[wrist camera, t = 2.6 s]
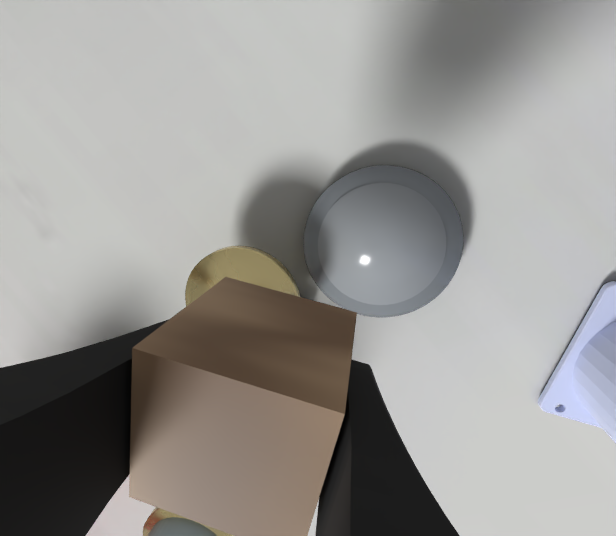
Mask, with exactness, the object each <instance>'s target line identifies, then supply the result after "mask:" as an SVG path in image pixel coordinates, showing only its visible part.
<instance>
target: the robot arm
mask: <svg viewBox="0 0 616 536" xmlns="http://www.w3.org/2000/svg"><path fill="white" fill-rule="evenodd" d="M169 320H170V319H169ZM167 321H168V320H166V321H163V322H160V323H157V324H154V325H152V326H149V327H146V328H143V329H140V330H137V331H134V332H131V333H128V334H125V335H122V336H119V337H116V338H113V339H109V340H106V341H103V342H100V343H96V344H93V345H90V346H86V347H83V348H80V349H76V350H73V351H70V352H66V353H62V354H58V355H54V356H51V357H47V358H43V359H38V360H34V361H30V362H25V363H21V364H17V365H12V366H7V367H3V368H0V536H85V535H86V534H87V533H88V531H89V530H90V528H91V527H92V525H93V524H94V522H95V521H96V519H97V518H98V516H99V515H100V513H101V512H102V511H103V509H104V508H105V506H106V505H107V503H108V502H109V500H110V499H111V498H112V496H113V495H114V494H115V492H116V491H117V490H118V488H119V487H120V486H121V484H122V483H123V482H124V480H125V479H126V478H127V477H128V475H129V474H130V433H131V384H132V348H133V347H134V346H135V345H137V344H138V343H139V342H141V341H142V340H143V339H145V338H146V337H147V336H149V335H150V334H151V333H152V332H154V331H155V330H156V329H158V328H159V327H160V326H162V325H163V324H164V323H166V322H167ZM538 405H539V406H540V407H541V409H542V410H543V411H545V412H548V413H551V414H555V415H558V416H562V417H565V418H569V419H572V420H576V421H579V422H583V423H586V424H589V425H593V426H596V427H600V428H603V429H604V431H605V432H606V433H607V434H608V435H609V436H610V438H611V439H612V440H613V441H614V442H615V443H616V281H612V282H608V283H606V284H605V285H603V287H602V288H601V289H600V291H599V293H598V295H597V296H596V298H595V300H594V302H593V303H592V305H591V307H590V309H589V311H588V312H587V314H586V316H585V318H584V319H583V321H582V323H581V325H580V326H579V328H578V330H577V332H576V334H575V335H574V337H573V339H572V341H571V342H570V344H569V346H568V348H567V349H566V351H565V353H564V355H563V357H562V358H561V360H560V362H559V364H558V365H557V367H556V369H555V371H554V372H553V374H552V376H551V378H550V380H549V381H548V383H547V385H546V387H545V388H544V390H543V392H542V394H541V395H540V397H539V399H538ZM557 405H561V406H560V407H556V406H557ZM316 536H459V534H458V533H457V531H456V530H455V529H454V527H453V526H452V524H451V523H450V521H449V520H448V518H447V517H446V515H445V514H444V512H443V511H442V509H441V507H440V506H439V504H438V503H437V501H436V499H435V498H434V496H433V495H432V493H431V491H430V490H429V488H428V487H427V485H426V483H425V482H424V480H423V478H422V476H421V475H420V473H419V471H418V469H417V468H416V466H415V464H414V462H413V460H412V458H411V457H410V455H409V453H408V451H407V449H406V447H405V445H404V443H403V441H402V439H401V437H400V435H399V433H398V431H397V429H396V427H395V425H394V423H393V421H392V419H391V416H390V414H389V412H388V410H387V408H386V405H385V403H384V401H383V398H382V396H381V393H380V391H379V388H378V386H377V383H376V380H375V377H374V375H373V372H372V369H371V367H370V365H368V364H365V363H361V362H358V361H354V360H351V366H350V375H349V383H348V392H347V400H346V409H345V415H344V418H343V422H342V425H341V428H340V431H339V435H338V438H337V441H336V444H335V447H334V451H333V454H332V457H331V460H330V464H329V467H328V470H327V473H326V477H325V480H324V483H323V486H322V489H321V493H320V496H319V505H318V516H317V526H316Z"/></svg>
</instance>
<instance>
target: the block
mask: <svg viewBox="0 0 616 536" xmlns="http://www.w3.org/2000/svg"><path fill="white" fill-rule="evenodd" d="M356 315H357V312H353V311H349V310H346V309H342V308H338V307H335V306H331V305H327V304H324V303H320V302H316V301H313V300H309V299H305V298H302V297H298V296H294V295H291V294H287V293H283V292H280V291H276V290H272V289H269V288H265V287H261V286H258V285H254V284H250V283H247V282H243V281H239V280H236V279H232V278H228V277H225V278H223V279H222V280H221V281H219V282H218V283H217V284H215V285H214V286H213V287H212V288H210V289H209V290H208V291H206V292H205V293H204V294H202V295H201V296H200V297H198V298H197V299H196V300H194V301H193V302H192V303H191V304H189V305H188V306H187V307H185V308H184V309H183V310H181V311H180V312H179V313H177V314H176V315H175V316H173V317H172V318H171V319H170V320H168V321H167V322H166V323H164V324H163V325H162V326H160V327H159V328H158V329H156V330H155V331H154V332H152V333H151V334H150V335H149V336H147V337H146V338H145V339H143V340H142V341H141V342H139V343H138V344H137V345H135V346H134V347H133V348H132V384H131V433H130V482H129V497H131V498H134V499H136V500H139V501H142V502H145V503H147V504H150V505H153V506H155V507H158V508H161V509H163V510H166V511H169V512H171V513H174V514H177V515H180V516H182V517H185V518H188V519H190V520H193V521H196V522H198V523H201V524H204V525H207V526H209V527H212V528H215V529H217V530H220V531H223V532H225V533H228V534H231V535H234V536H307V535H308V531H309V528H310V525H311V522H312V518H313V515H314V512H315V509H316V506H317V502H318V499H319V496H320V493H321V489H322V486H323V483H324V480H325V477H326V473H327V470H328V467H329V464H330V460H331V457H332V454H333V451H334V447H335V444H336V441H337V438H338V435H339V431H340V428H341V425H342V422H343V418H344V415H345V409H346V400H347V392H348V383H349V375H350V366H351V358H352V349H353V341H354V332H355V324H356Z"/></svg>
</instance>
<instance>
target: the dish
mask: <svg viewBox="0 0 616 536" xmlns="http://www.w3.org/2000/svg"><path fill="white" fill-rule="evenodd" d="M462 249H463V230H462V224H461V220H460V217H459V214H458V212H457V209H456V207H455V205H454V204H453V202H452V200H451V199H450V197H449V196H448V195H447V194H446V192H445V191H444V190H443V189H442V188H441V187H440V186H439V185H438V184H436V183H435V182H434V181H433V180H431V179H430V178H428V177H426V176H425V175H423V174H421V173H419V172H416V171H414V170H411V169H407V168H404V167H398V166H392V165H378V166H370V167H366V168H362V169H359V170H356V171H354V172H351V173H349V174H347V175H345V176H344V177H342V178H340V179H338V180H337V181H336V182H335V183H333V184H332V185H331V186H330V187H328V188H327V189H326V190H325V191H324V192H323V194H322V195H321V196H320V197H319V199H318V200H317V201H316V203H315V205H314V206H313V208H312V210H311V212H310V214H309V217H308V219H307V223H306V226H305V232H304V255H305V259H306V263H307V267H308V269H309V272H310V274H311V276H312V278H313V279H314V281H315V283H316V284H317V286H318V287H319V288H320V290H321V291H322V292H323V293H324V294H325V295H326V296H327V297H328V298H330V299H331V300H332V301H333V302H334V303H336V304H338V305H339V306H341V307H342V308H345V309H347V310H349V311H353V312H357V314H360V315H365V316H370V317H393V316H399V315H403V314H407V313H410V312H412V311H415V310H417V309H419V308H421V307H423V306H425V305H426V304H428V303H429V302H431V301H432V300H433V299H435V298H436V297H437V296H438V295H439V294H440V293H441V292H442V291H443V290H444V289H445V288H446V286H447V285H448V284H449V282H450V281H451V279H452V278H453V276H454V274H455V272H456V270H457V268H458V266H459V262H460V259H461V255H462Z"/></svg>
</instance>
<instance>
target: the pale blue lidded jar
mask: <svg viewBox="0 0 616 536" xmlns="http://www.w3.org/2000/svg"><path fill="white" fill-rule="evenodd" d="M148 536H217V535H216V534H215V533H214V532H212V531H211V530H210V529H208V528H207V527H205V526H203V525H201V524H199V523H197V522H195V521H192V520H189V519H185V518H178V517H171V518H165V519H162V520H160V521H158V522H157V523H156V524H155V525H154V526H153V528H152V529H151V531H150V533H149V534H148Z"/></svg>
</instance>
